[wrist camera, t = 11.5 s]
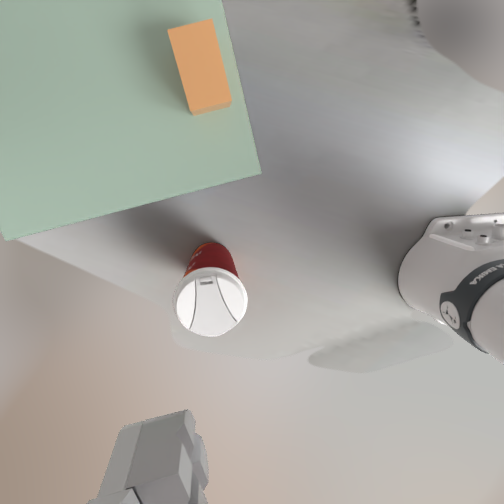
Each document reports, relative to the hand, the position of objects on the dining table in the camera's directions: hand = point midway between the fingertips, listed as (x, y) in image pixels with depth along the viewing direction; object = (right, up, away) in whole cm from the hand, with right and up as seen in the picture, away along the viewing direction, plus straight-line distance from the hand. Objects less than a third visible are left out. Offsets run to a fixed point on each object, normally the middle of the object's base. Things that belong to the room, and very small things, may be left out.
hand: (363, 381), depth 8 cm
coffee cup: (-9, +2, +42) cm, 43 cm away
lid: (-15, +15, +19) cm, 28 cm away
